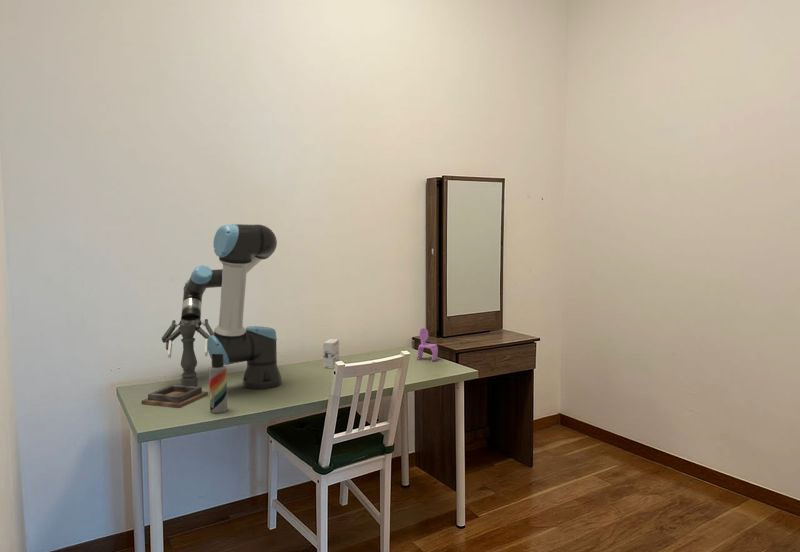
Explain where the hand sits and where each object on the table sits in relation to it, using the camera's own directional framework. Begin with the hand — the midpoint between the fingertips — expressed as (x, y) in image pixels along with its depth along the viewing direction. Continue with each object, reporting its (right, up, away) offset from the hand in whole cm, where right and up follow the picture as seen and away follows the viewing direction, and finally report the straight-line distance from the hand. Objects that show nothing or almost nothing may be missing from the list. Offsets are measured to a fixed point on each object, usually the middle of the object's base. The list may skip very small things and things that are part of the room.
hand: (187, 355), depth 218 cm
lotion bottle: (+21, -15, -27) cm, 38 cm away
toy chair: (+96, -9, +48) cm, 108 cm away
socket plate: (+1, -14, -14) cm, 20 cm away
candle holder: (0, -13, +3) cm, 13 cm away
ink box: (+52, -10, +35) cm, 64 cm away
